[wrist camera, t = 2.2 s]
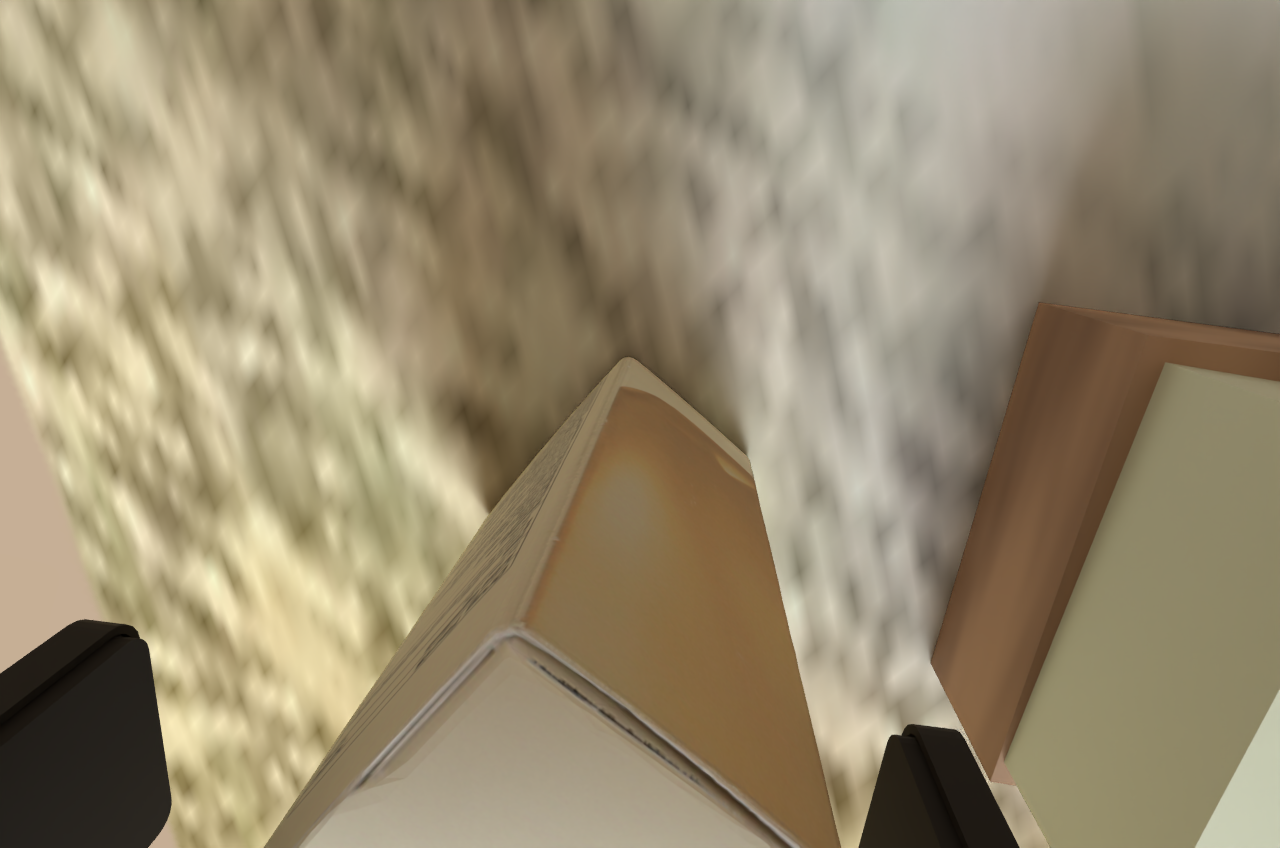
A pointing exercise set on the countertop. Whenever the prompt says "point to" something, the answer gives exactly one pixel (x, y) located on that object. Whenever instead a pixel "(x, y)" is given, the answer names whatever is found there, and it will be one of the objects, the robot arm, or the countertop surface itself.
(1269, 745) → the tower top
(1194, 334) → the tower bottom
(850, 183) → the countertop surface
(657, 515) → the skincare box
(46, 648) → the robot arm
